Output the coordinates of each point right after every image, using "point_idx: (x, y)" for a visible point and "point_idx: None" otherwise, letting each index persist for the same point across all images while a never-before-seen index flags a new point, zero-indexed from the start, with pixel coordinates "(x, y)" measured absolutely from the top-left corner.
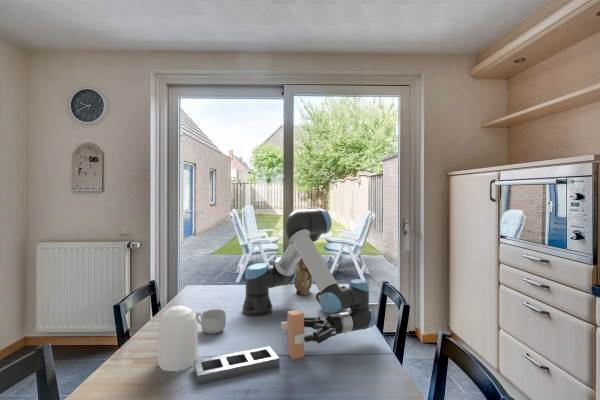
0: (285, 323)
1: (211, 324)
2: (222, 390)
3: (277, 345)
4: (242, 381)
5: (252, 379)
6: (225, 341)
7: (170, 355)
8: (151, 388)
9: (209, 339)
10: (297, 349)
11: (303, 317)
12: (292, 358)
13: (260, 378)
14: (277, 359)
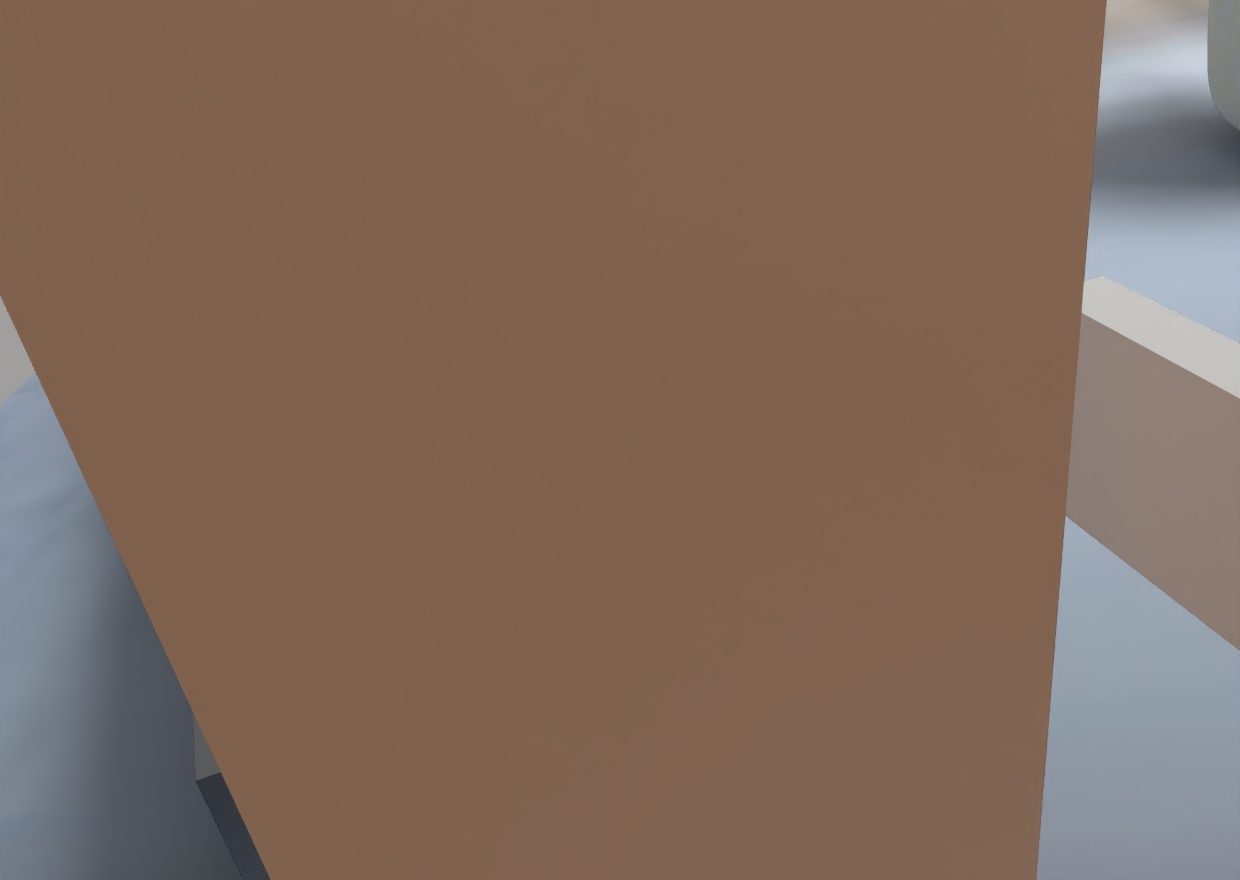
0: (1143, 380)
1: (1224, 21)
2: (6, 452)
3: (1231, 778)
4: (73, 544)
5: (58, 617)
6: (1112, 252)
7: None
8: None
9: (1114, 171)
10: None
11: (41, 365)
12: None
13: (27, 689)
14: (201, 766)
